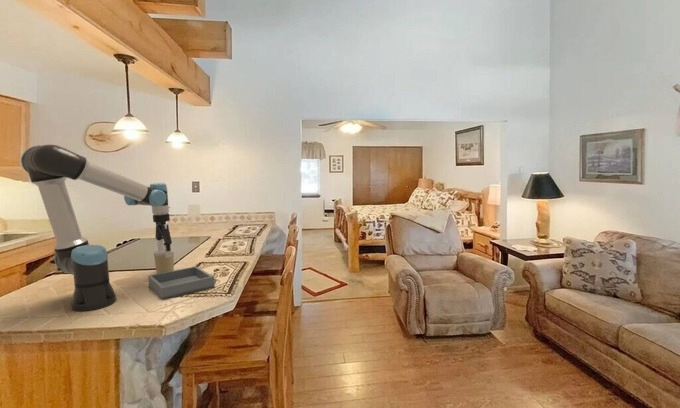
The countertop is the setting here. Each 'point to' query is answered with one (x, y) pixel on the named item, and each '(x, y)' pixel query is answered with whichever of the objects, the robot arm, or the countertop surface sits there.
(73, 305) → the robot arm
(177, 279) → the walled box
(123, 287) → the countertop surface
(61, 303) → the countertop surface
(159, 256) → the coffee cup
